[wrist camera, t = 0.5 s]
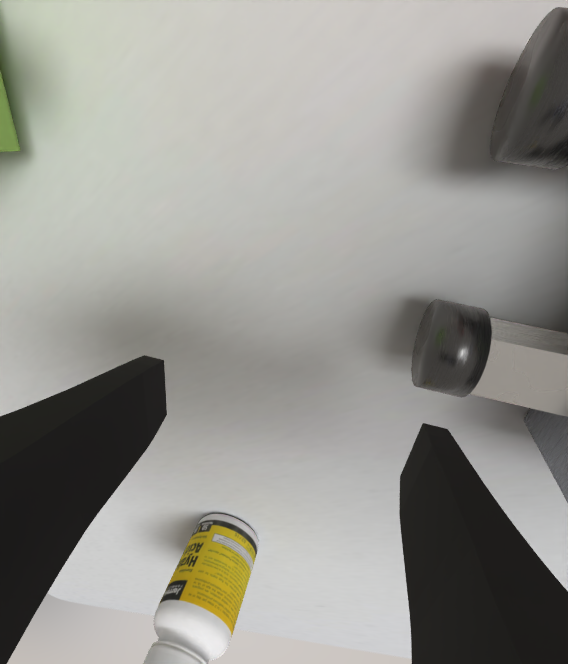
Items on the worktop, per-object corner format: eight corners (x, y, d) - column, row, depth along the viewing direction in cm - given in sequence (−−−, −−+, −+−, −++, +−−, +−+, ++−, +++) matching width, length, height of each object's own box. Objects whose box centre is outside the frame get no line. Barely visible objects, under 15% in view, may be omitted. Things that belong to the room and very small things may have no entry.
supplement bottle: (211, 501, 28) (141, 654, 20) (270, 533, 28) (226, 698, 20) (189, 532, 31) (120, 677, 23) (244, 561, 31) (195, 716, 23)
